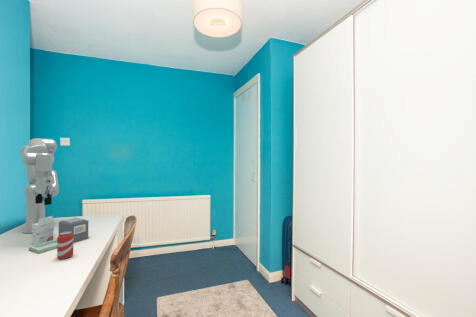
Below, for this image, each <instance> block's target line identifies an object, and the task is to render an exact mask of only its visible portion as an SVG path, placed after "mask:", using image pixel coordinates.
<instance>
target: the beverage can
mask: <svg viewBox="0 0 476 317" xmlns="http://www.w3.org/2000/svg"><path fill="white" fill-rule="evenodd" d="M58 235H59V236H58ZM58 235H57V237H56V238H57V248H56V250H57V252H56V258H58V259H59V260H66V259H68V258H71V257H72V256H74V243H75V242H74V235H73V233H72V231H65V232H61V233H59V232H58Z"/></svg>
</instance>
